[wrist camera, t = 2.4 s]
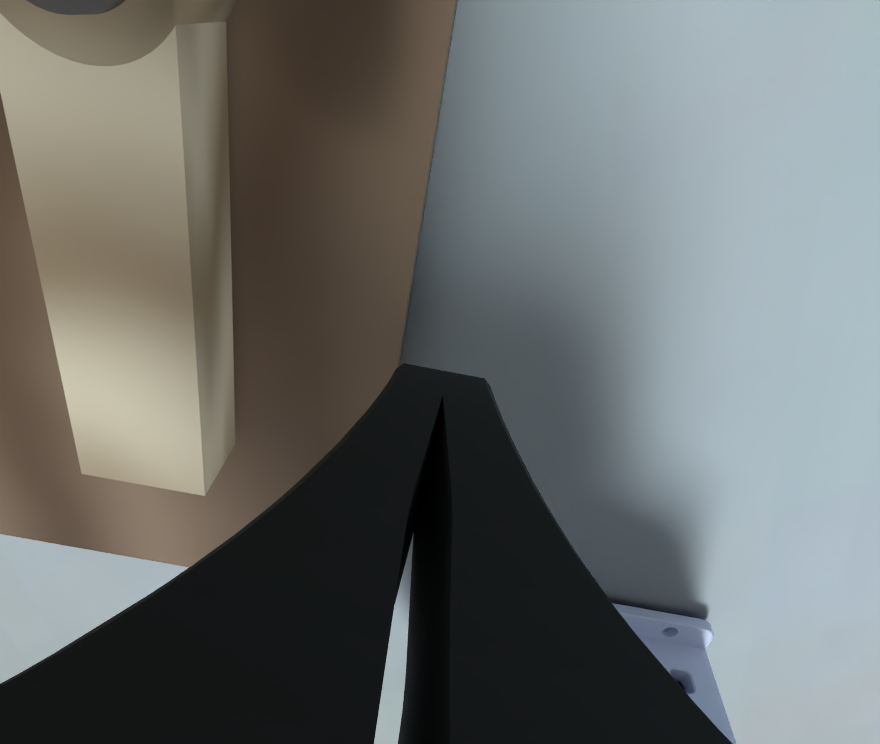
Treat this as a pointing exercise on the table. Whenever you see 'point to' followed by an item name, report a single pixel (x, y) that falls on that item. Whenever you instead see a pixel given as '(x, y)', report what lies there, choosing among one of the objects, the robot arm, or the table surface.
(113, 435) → the pivot link
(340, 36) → the walnut board
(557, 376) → the table surface
